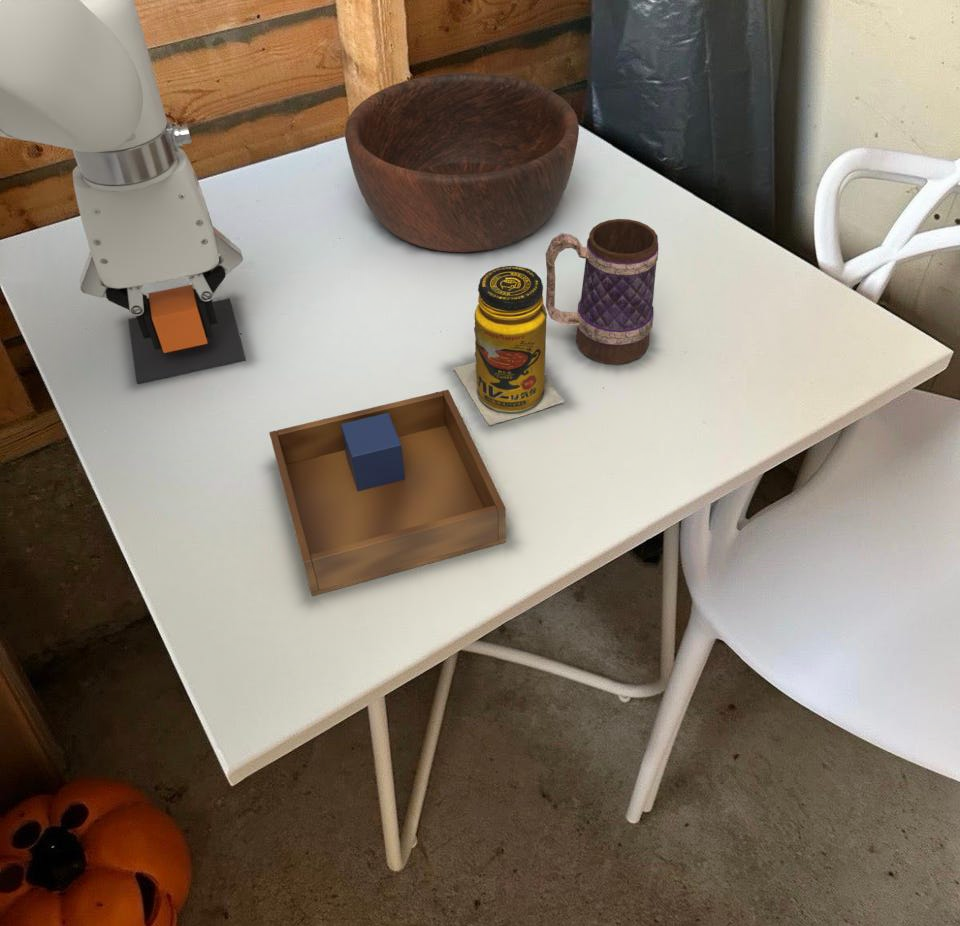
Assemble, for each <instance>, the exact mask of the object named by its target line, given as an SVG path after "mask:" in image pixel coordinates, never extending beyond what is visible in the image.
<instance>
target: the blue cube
mask: <svg viewBox="0 0 960 926" xmlns="http://www.w3.org/2000/svg"><path fill="white" fill-rule="evenodd" d="M341 429H342V435H343V440H344V446H345V452H346V458H347V461H348V464H349V467H350V470H351V473H352V476H353V479H354V482H355V485H356V488H357V491H361V490H365V489H369V488H373V487H377V486H381V485H385V484H388V483H392V482H396V481H400V480H404V479H405V473H404V464H403V455H402V446H401V443H400V440H399V438H398V435H397V433H396V430H395V428H394V425H393V423H392V420H391V418H390V415H389V413H385V414H381V415H377V416H373V417H368V418H364V419H360V420H356V421H352V422H348V423H343V424H341Z"/></svg>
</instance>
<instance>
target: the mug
mask: <svg viewBox="0 0 960 926" xmlns="http://www.w3.org/2000/svg"><path fill="white" fill-rule="evenodd" d="M566 249H573V250H575V251H576V253H577V255H578V257H579V258H580V259H585V262H584V271H583V278H582V285H581V286H582V287H581V293H580V294H581V295H580V300H579V302H578V304H577V310H576V311H561V310H559V309H557V308H556V307H555V305H556V266H555V262H556V260H557V258H558V256H559V254H560V253H561V252H562V251H564V250H566ZM658 260H659V237H658V234H657V233H656V231H655V230H654V229H653V228H652V227H650V226H649V225H648V224H646V223H644V222H641V221H639V220H634V219H629V218H615V219H608V220H605V221H602V222H598V224H596V225H595V226H593V227H592V229H591V230H590V232H589V234H588V238H587V241H586V246H583V245H582V243H581V242H580V240H579V238H577V237H576V236H574V235H572V234H569V233H563V232H561V233H559V234H558V235H556V236H554V237H553V238H552V239H551V241H550V243H549V245H548V247H547V250H546V251H545V265H546V267H545V268H546V291H545V309H546V312H547V315H548V316H549V318H550V319H551V320H553V321H554V322H557V323H559V324H565V325H571V326H577V327H576V333H575V335H576V336H575V343H576V345H577V347H578V349H579V350H580V351H581V353H583V354H584V355H585V356H587V357H589V358H591V359H592V360H594V361H596V362H600V363H603V364H609V365H610V364H612V365H619V364H626V363H629V362H632V361H634V360H637V359H639V358H640V357H641V356H643V355H644V354H645V353H646V352H647V351H648V348H649V346H650V336H651V331H652V329H653V327H654V325H653V324H654V315H655V312H654V306H653V305H654V295H655V294H654V293H655V282H656V273H657V272H656V271H657V263H658Z"/></svg>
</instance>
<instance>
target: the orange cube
mask: <svg viewBox="0 0 960 926" xmlns="http://www.w3.org/2000/svg"><path fill="white" fill-rule="evenodd" d="M193 289H194V286H193V284H187V285H183V286H178V287H177V286H176V287H172V288H168V289H163V290H157V291H153V292H148V294H147V297H148V298H149V302H150V308H151V316H152V320H153V323H154V326H155V329H156V332H157V335H158V338H159V341H160V343H161V346H162V349H163V352H164V353H167V352H171V351H176V350H181V349H185V348H190V347H194V346H199V345H204V344H207V343H208V342H207V338H206V335H205V332H204V328H203V325H202V321H201V318H200V315H199V311H198V308H197V304H196V300H195V295H194V290H193Z"/></svg>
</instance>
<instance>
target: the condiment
mask: <svg viewBox="0 0 960 926" xmlns="http://www.w3.org/2000/svg"><path fill="white" fill-rule="evenodd" d="M477 291H478V298H477V302H478V303H477V305H476V308H475V310H474V327H473V331H474V336H475V337H474V338H475V342H474V345H475V347H474V349H475V352H474V356H475V361H474V362H470V363H469V364H463V365H459V366H456V367H453V370H454V371H455V373H456V374H457V376H458V378H459V379H460V381H461V382H462V384H463V386H464V387H465V388H466V390H467V393H468V394H469V396H470V397H471V399H472V401H473V403H474V404H475V406H476V407H477V409H478V410H479V412H480V414H481V415H482V417H483V419H484V420H485V421H486V423H487V424H488V425H489V426H491V425H495V424H499V423H503V422H506V421H509V420H515V419H517V418H520V417H525V416H527V415H530V414H533V413H536V412H540V411H542V410H545V409H547V408H550V407H553V406H556V405H560V404H563V403H565V400H564V399H563V397H562V396H561V395H560V394H559V392H558V391H557V390H556V388H555V386H553V384H552V383H551V381H550V380H549V378H547V376H546V349H547V348H546V345H547V343H546V342H547V318H548V312H547V308H546V305H545V304H544V296H543V294H544V293H543V292H544V285H543V282H542V279H541V277H540V276H539V275H538V274H537V273H536V272H535V271H533V270H532V269H530V268H528V267H523V266H518V265H517V266H516V265H504V266H499V267H496V268H493V269H491V270H489V271H486V273H485V274H484V275H483V276H482V277H481V278H480V279H479V284H478V286H477Z"/></svg>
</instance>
